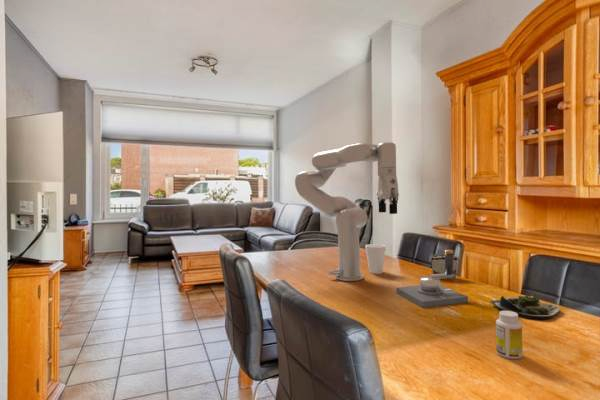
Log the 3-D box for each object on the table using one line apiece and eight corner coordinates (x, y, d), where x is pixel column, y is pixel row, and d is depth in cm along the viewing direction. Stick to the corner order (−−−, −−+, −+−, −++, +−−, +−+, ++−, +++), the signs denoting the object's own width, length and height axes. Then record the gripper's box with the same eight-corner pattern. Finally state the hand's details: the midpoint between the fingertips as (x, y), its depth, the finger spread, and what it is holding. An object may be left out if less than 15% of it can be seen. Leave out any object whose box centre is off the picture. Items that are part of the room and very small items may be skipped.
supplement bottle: (524, 353, 88) (524, 312, 87) (519, 362, 84) (519, 319, 83) (499, 347, 91) (499, 307, 91) (493, 355, 87) (492, 313, 87)
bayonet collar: (428, 293, 128) (428, 254, 127) (415, 286, 137) (414, 250, 136) (460, 290, 131) (460, 252, 130) (445, 283, 140) (445, 248, 139)
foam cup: (362, 271, 176) (361, 245, 175) (377, 269, 180) (377, 243, 179) (374, 275, 167) (373, 247, 167) (390, 273, 171) (389, 246, 171)
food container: (454, 275, 164) (454, 253, 164) (459, 278, 158) (458, 256, 157) (426, 275, 165) (426, 253, 165) (430, 278, 159) (430, 256, 159)
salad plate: (512, 297, 132) (512, 285, 131) (570, 310, 117) (570, 296, 117) (484, 308, 121) (484, 295, 121) (543, 324, 106) (543, 309, 106)
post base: (422, 307, 122) (422, 299, 122) (396, 292, 140) (396, 285, 140) (467, 302, 126) (467, 294, 126) (437, 288, 144) (437, 281, 144)
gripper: (405, 171, 143) (406, 214, 143) (385, 173, 160) (386, 211, 160) (388, 171, 141) (389, 214, 142) (370, 173, 158) (370, 212, 159)
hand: (387, 213), depth 151 cm, fingers open, 9 cm apart
